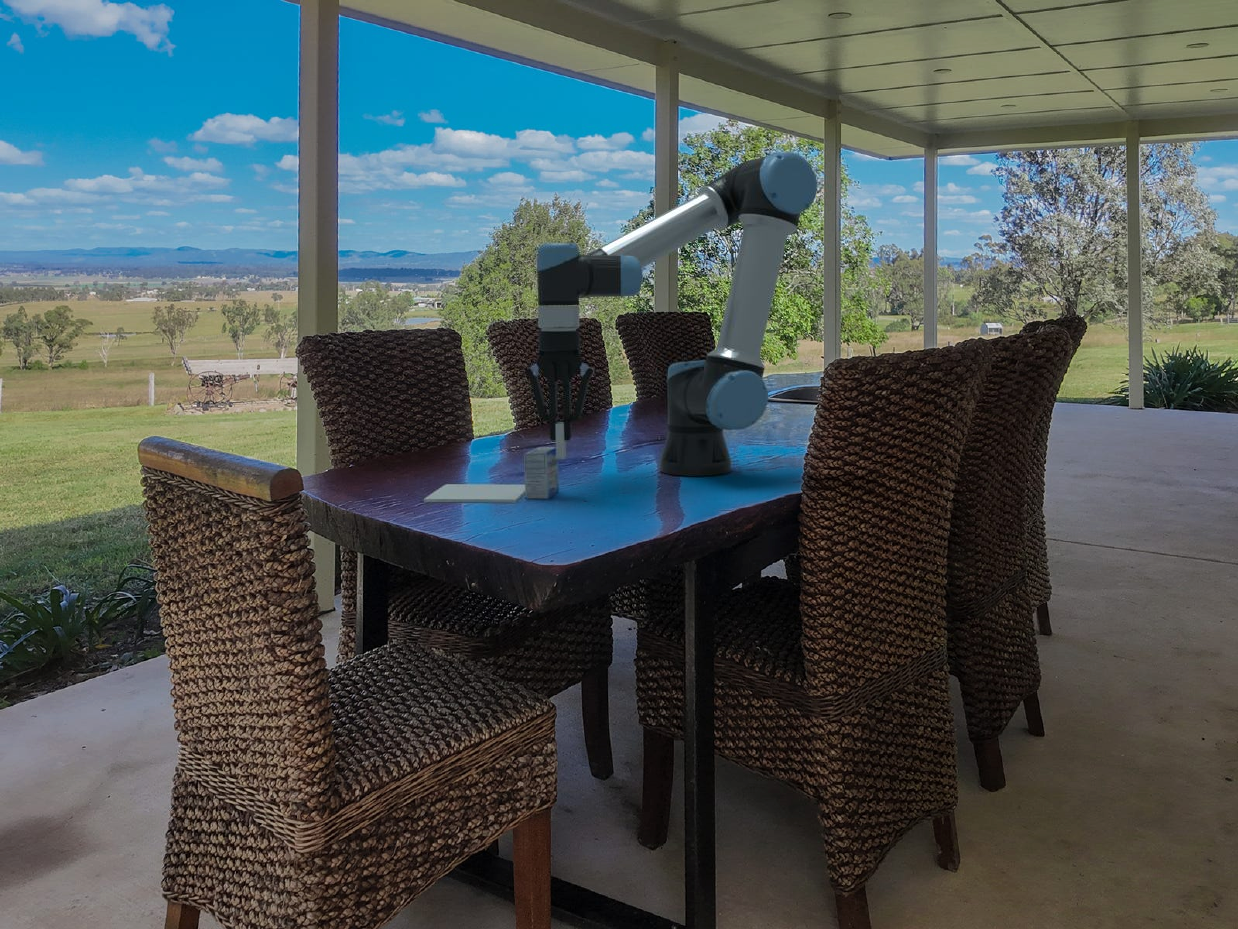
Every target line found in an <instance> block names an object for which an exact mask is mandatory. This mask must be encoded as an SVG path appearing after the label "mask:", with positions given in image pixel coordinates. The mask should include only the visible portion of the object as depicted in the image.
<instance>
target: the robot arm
mask: <svg viewBox="0 0 1238 929" xmlns="http://www.w3.org/2000/svg"><path fill="white" fill-rule="evenodd" d="M817 191H818V182H817V176H816V174H815V171H814V170H813V168H812V166H811V164H810V163H809V161H808V160H807V159H806V158H804V157H803V156H802V155H801V154H798V153H796V152H793V151H792V152H790V151H784V152H781V151H779V152H777V151H776V152H772V153H770V154H768V155H766V156H762V157H758V158H754V159H750V160H747V161H744V162H741V163H739V164H738V165H736V166H733V168H731V169H730V170H728V171H727V172H725V173H723V174H722V175H720V176H717V178H715V179H713V180H712V181H711V182H709V183H707V184H705V185H703V186H702V187H700V188H699V190H698V192H697V195H696V196H693V197H692V198H690V199H688V200H686V201H684V202H683V203H681V204H678V205H676V206H674V207H673V208H671V209H669V210H667V211H665V212H664V213H662V214H659V215H658V216H656V217H654V218H652V219H651V220H649V221H647V222H646V223H645V222H644V223H643V224H641V225H640V226H638V227H636V228H633V229H632V230H630V231H629V232H626V233H625V234H623V235H621V236H619V237H617V238H615V239H613V240H611V241H609V242H608V243H605V244H604V245H601V246H600V247H598V248H597V249H596V250H593V251H591V252H588V253H587V254H580V250H579V246H578V244H576V243H572V242H571V243H569V242H550V243H549V242H547V243H542V244H541V245H540V246H538V249H537V256H536V269H535V270H536V276H537V277H536V278H537V322H538V323H537V327H538V328H539V329H541V331H539V333H538V355H537V358H536V360H535V363H534V364H533V365H532V366H530V367H527V368H525V369H524V374H525V376H526V377H527V378H528V380H529V382H530V385H531V389H532V393H533V397H534V401H535V404H536V408H537V412H538V416H539V419H540V420H542V421H543V420H544V421H546V422H548V423H549V439H550V441H555V447H556V459H558V460H565V459H566V457H567V441H570V440H571V438H572V423H573V422H575V421H577V420H579V419H581V417H582V413H583V409H584V405H585V400H586V397H587V391H588V386H589V382H590V379H591V378H592V376H593V375H594V374H595V368H593V367H590V366H589V365H587V364H585V363H584V359H583V357H582V355H581V342H580V341H581V340H580V339H581V338H580V336H581V334H580V332H579V330H577V329H578V328H580V299H585V298H595V297H596V298H597V297H598V298H600V297H602V298H604V297H612V298H613V297H619V298H624V297H634V296H636V295H637V294H638V293H639V292H640V290H641V289H642V288H641V287H642V284H643V268H645V267H647V266H649V265H650V264H652V263H655V262H656V261H658V260H660V259H662V258H664V257H666V256H667V255H669V254H671V253H673V252H675V251H677V250H678V249H680V248H682V247H684V246H685V245H687V244H689V243H691V242H693V241H695V240H696V239H699V238H700V237H702V236H704V235H706V234H708V233H709V232H711V231H713V230H717V231H724V230H726V229H728V228H729V227H731V226H734V225H736V224H739V223H740V224H741V225H742V227H743V231H742V237H741V239H740V245H739V247H738V251H737V252H738V253H737V258H736V262H735V265H734V270H733V274H732V278H731V279H732V280H731V283H730V287H729V292H728V297H727V300H726V305H725V310H724V314H723V318H722V323H721V327H720V331H719V335H718V340H717V344H716V347H715V349H713V350H712V351H710V352H709V353H707V354H706V357H705V359H703V360H691V361H680V362H679V361H678V362H674V363H672V364H669V367H668V368H667V375H666V376H667V377H666V384H667V386H666V387H667V394H666V395H667V437H666V440H665V444H664V447H663V449H662V452H661V455H660V459H659V471H660V473H662V474H667V475H675V476H687V477H689V476H690V477H703V476H705V477H708V476H716V475H724V474H728V473H730V472H731V471H732V458H731V456H730V452H729V448H728V446H727V443H726V439H725V436H724V430H725V431H732V430H733V431H739V430H745V429H746V428H749V427H751V426H753V425H754V424H756V423H757V422H758V421H759V420H760V419H761V417H762V416H763V414H764V412H765V411H766V408H767V406H768V402H769V392H768V388H767V387H766V383H765V381H764V380H763V377H764V372H765V368H766V367H765V365H764V363H763V361H762V360H761V358H760V355H761V352H762V346H763V343H764V338H765V333H766V330H767V325H768V320H769V316H770V312H771V308H772V304H773V298H774V295H775V290H776V287H777V281H778V278H779V273H780V269H781V265H782V260H783V256H784V252H785V246H786V245H787V244H786V243H787V239H788V237H789V236H790V235H792V234H794V233H796V232H797V230H798V226H799V223H800V218H801V213H803V212H805V211H807V209H809V208H810V207H811V205H812V204H813V203H814V201H815V199H816V196H817ZM579 370H580V376H581V380H580V383H579V387H578V392H577V397H576V401H575V406H574V411H573V413H572V379H573V378H574V377H575V375H576V374H577V373H578V371H579ZM540 371H541V373H542V374H543V375H544V378H546V380H547V381H548V409H549V410H548V409H547V406H546V402H545V397H544V393H543V390H542V386H541V383H540V379H539V377H538V376H539V375H540ZM559 381H561V383H562V384H561V386H562V419H563V420H562V422H561V421H558V420H559V418H558V417H559V415H558V408H559V407H558V405H559V404H558V382H559Z"/></svg>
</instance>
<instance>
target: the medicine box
mask: <svg viewBox="0 0 1238 929" xmlns="http://www.w3.org/2000/svg"><path fill="white" fill-rule="evenodd" d="M558 461H559V459H556V446H555V447H554V446H541V447H534V448H533V449H531V450H529V451H527V452H525V453H524V454H523V465H524V466H523V468H524V471H523V472H524V485H525V494H524V495H525V498H526V499H530V500H537V499H538V500H549V499H550V498H551V497H553V496H555V494H557V493H558V492H559V490H560V489H559V462H558Z"/></svg>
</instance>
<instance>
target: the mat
mask: <svg viewBox="0 0 1238 929" xmlns="http://www.w3.org/2000/svg"><path fill="white" fill-rule="evenodd" d="M524 495H526V494H525V484H480V483H479V484H478V483H477V484H470V483H469V484H461V483H459V484H457V483H456V484H455V483H452V484H450V483H449V484H448V483H446V484H444V485H442V486H441V487H440V488H437V489H436V490H435V491H434V492H432V493H430V494H429V495H427V496H426V497H425V498H423V503H473V504H474V503H479V504H481V503H487V504H489V503H493V504H494V503H497V504H498V503H499V504H500V503H505V504H507V503H508V504H509V503H513V504H516V503H518V502H519V500H521V498H522V497H524Z"/></svg>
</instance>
